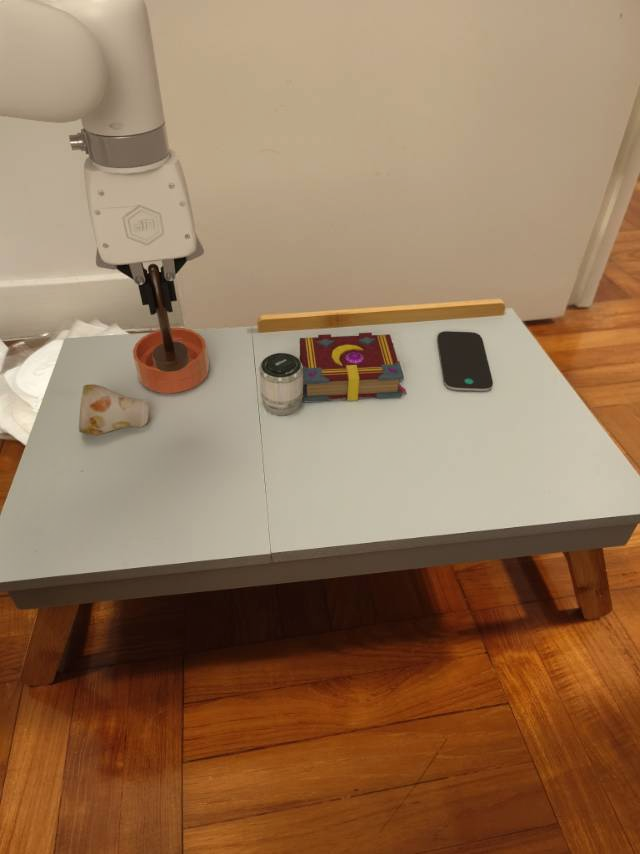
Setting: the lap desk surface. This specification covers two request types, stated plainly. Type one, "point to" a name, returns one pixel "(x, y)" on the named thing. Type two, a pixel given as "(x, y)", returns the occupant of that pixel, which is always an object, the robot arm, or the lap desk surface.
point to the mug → (109, 411)
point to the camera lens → (281, 383)
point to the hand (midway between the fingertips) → (160, 306)
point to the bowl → (175, 379)
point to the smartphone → (464, 361)
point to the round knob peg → (165, 331)
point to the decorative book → (350, 367)
